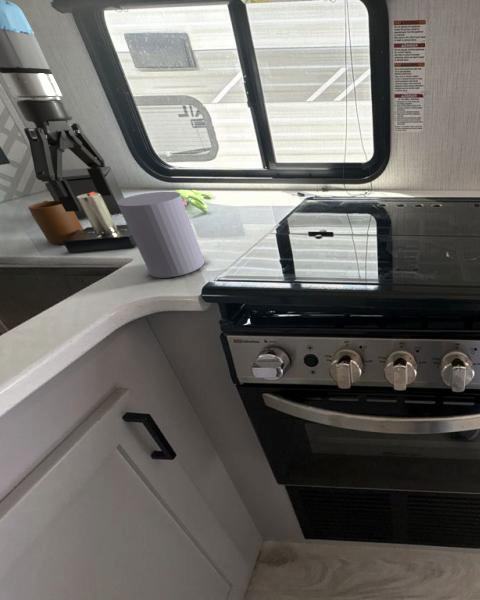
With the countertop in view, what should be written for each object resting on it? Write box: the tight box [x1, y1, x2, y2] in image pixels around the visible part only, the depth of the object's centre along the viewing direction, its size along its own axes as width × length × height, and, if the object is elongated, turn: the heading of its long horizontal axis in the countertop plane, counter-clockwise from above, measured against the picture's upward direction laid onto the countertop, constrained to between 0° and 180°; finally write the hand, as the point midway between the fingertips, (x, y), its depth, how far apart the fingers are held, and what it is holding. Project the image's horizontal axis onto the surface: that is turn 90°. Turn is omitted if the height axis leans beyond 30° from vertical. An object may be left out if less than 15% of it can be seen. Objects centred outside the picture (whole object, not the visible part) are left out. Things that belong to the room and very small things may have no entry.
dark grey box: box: [44, 168, 125, 220], centre depth 107 cm, size 17×14×11 cm
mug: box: [28, 200, 84, 245], centre depth 86 cm, size 12×8×9 cm, turn 49°
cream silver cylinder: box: [77, 192, 118, 235], centre depth 80 cm, size 4×4×9 cm
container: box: [117, 191, 205, 279], centre depth 68 cm, size 10×10×15 cm
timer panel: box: [62, 224, 137, 254], centre depth 84 cm, size 14×10×3 cm
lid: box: [41, 166, 112, 183], centre depth 103 cm, size 18×14×1 cm
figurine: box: [172, 189, 213, 214], centre depth 109 cm, size 18×27×6 cm
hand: (91, 202), depth 79 cm, fingers open, 13 cm apart
